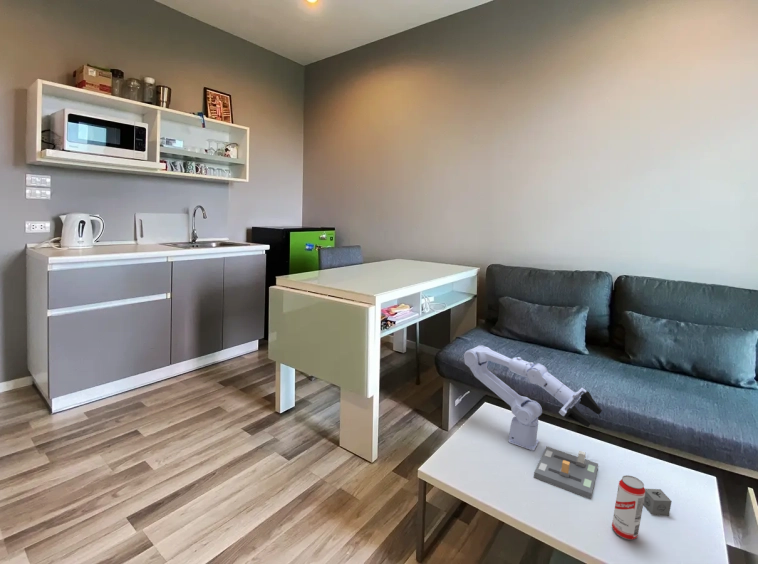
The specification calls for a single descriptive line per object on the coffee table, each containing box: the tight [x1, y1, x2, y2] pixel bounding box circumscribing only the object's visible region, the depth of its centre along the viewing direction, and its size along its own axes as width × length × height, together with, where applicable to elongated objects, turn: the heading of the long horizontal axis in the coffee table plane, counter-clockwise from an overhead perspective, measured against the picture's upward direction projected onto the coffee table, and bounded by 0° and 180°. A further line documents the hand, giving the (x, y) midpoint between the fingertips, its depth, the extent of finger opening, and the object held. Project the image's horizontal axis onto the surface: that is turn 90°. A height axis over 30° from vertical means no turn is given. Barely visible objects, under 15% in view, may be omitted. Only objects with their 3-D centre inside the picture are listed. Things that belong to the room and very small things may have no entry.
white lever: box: [576, 450, 586, 468], centre depth 138 cm, size 3×2×4 cm
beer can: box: [611, 474, 646, 541], centre depth 111 cm, size 6×6×16 cm
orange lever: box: [559, 460, 570, 478], centre depth 133 cm, size 3×2×4 cm
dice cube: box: [643, 488, 672, 517], centre depth 121 cm, size 5×5×5 cm
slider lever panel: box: [533, 445, 599, 500], centre depth 137 cm, size 17×18×2 cm
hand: (595, 418), depth 135 cm, fingers open, 7 cm apart
